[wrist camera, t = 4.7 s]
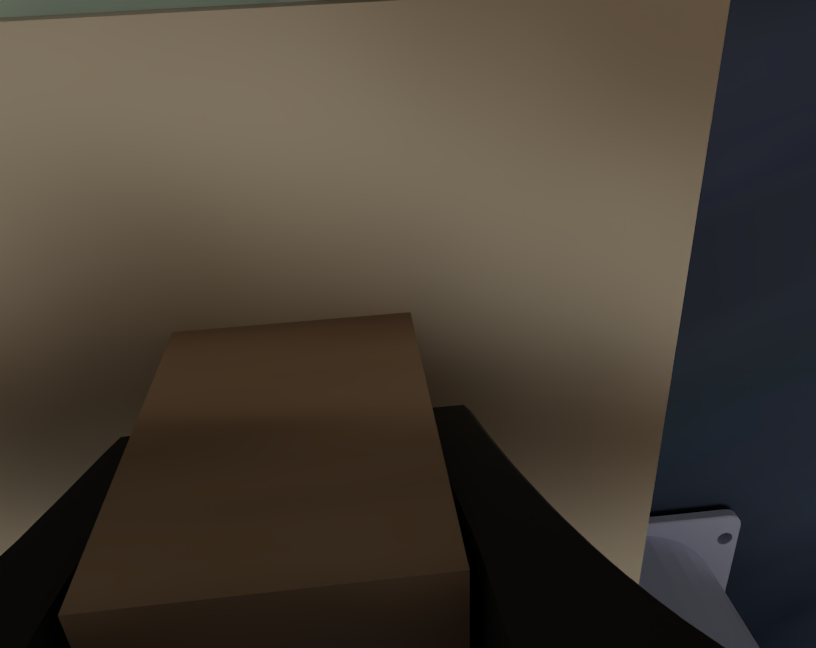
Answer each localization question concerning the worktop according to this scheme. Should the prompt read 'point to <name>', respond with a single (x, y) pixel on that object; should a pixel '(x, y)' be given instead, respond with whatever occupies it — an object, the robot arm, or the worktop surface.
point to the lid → (337, 294)
